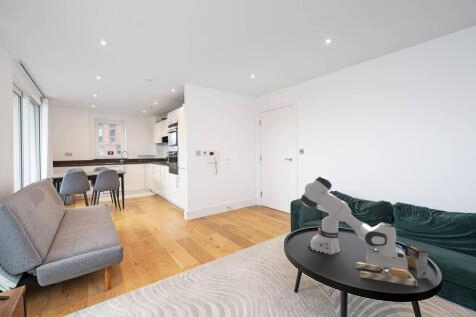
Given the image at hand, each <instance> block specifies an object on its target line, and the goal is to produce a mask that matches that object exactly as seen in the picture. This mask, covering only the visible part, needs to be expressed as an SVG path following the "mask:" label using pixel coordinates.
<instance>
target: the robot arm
mask: <svg viewBox="0 0 476 317" xmlns="http://www.w3.org/2000/svg"><path fill="white" fill-rule="evenodd" d="M332 186H333V184H332V183H331V181H330V180H329V179H328V178H326V177H325V176H318V177H316V178H315V180H314V181H313V182H310V183H307V184H306V185H305V187H304V192H303V194H302V195H301V197H300V201H301V203H302V204H303V205H304V206H305V207H307V208H309V209H315V208H316V209H318V210H319V211H321V212H325V213H327V214H328V215H327V216H325V217H323V218H322V220H321V228H320V227H318V229H317V230H318V234H316V235H314V236H312V238H311V241H310V242H311V247H312V249H313V250H316V251H315V252H318V251H320V252H319V253H322V252H324V254H327V253H328V254H327V255H335V254H337V253H339V252H340V251H341V249H340V245H339V238H340V237H339V236H340V235H339V234H340V233H339V222H341V223H342V222H344V223H346V224H347V225H348V226H349V227H351V228H352V230H353V231H354V234H355V236H357V237H358V238H359V239H361V240H362V241H363V242H365V243H366V244H367V245H368V246H370V247H377V248H367V249H366V252H365V253H366V257H365V258H366V259H365V261H366V263H367V264H370V265H376V266H381V268H382V269H381V270H382V274H384V275H389V272H390V271H391V269H392V268H396V269H403V270H406V269H407V268H408V264H407V260H406V255H405V251H403V250H402V249H401V250H400V248H399V249H397V248H396V247H397V246H395V244H396V243H397V242H396V241H397V231H396V228H395V227H394V225H393V224H390V223H387V222H383V221H382V222H379V223H378V224H376V225H375V226H371V225H369V224H368V223H367V222H365V221H362V220H361V221H360V220H359V219H357V218H356V216H354V215H353V214H352V210H351V208H350V207H349V205H348V203H347V202H346V201H344V200H342V199H340V198H339V197H338V196H335V195H334V194H332V193H330V192H329V191H330V190H331V188H332ZM313 250H312V251H313ZM384 267H388V269H383V268H384Z"/></svg>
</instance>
